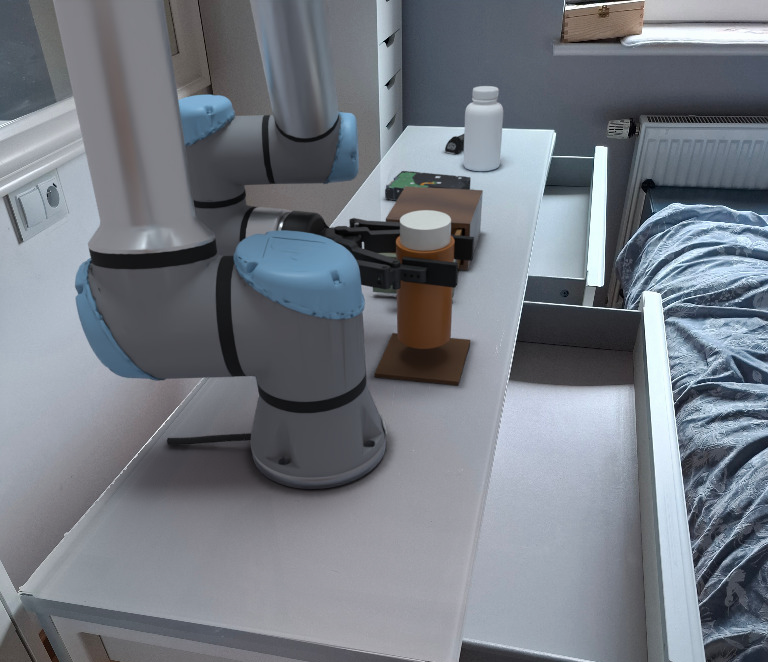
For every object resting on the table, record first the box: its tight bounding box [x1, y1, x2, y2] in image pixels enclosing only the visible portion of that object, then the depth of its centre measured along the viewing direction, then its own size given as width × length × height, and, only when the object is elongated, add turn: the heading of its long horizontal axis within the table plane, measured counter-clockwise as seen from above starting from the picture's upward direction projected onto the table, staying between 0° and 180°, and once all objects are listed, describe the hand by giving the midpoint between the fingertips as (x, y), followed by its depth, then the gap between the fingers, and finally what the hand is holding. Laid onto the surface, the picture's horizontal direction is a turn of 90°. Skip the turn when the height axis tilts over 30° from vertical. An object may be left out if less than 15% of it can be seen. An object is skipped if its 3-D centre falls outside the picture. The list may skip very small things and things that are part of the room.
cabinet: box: [385, 187, 484, 271], centre depth 121 cm, size 16×14×8 cm
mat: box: [374, 332, 471, 386], centre depth 96 cm, size 11×11×1 cm
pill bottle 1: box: [396, 210, 455, 349], centre depth 89 cm, size 7×7×15 cm
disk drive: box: [384, 170, 471, 201], centre depth 143 cm, size 10×3×15 cm
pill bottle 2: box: [462, 85, 504, 172], centre depth 151 cm, size 8×8×15 cm
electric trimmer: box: [444, 133, 464, 155], centre depth 167 cm, size 4×16×3 cm, turn 143°
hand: (464, 261), depth 85 cm, fingers closed on pill bottle 1, 7 cm apart
